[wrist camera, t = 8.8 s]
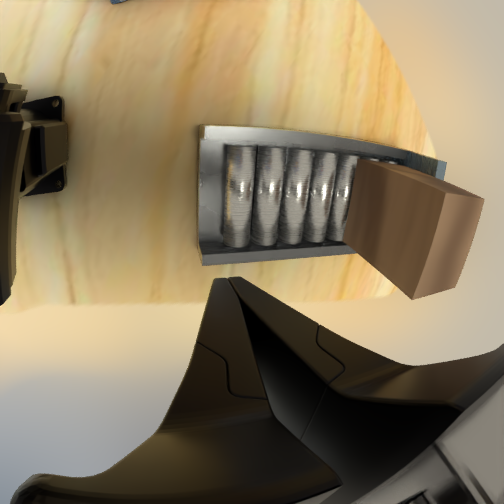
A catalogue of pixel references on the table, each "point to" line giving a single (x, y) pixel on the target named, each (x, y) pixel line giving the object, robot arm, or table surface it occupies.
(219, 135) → the roller bed
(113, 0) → the ink cartridge box
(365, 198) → the block
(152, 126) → the table surface
